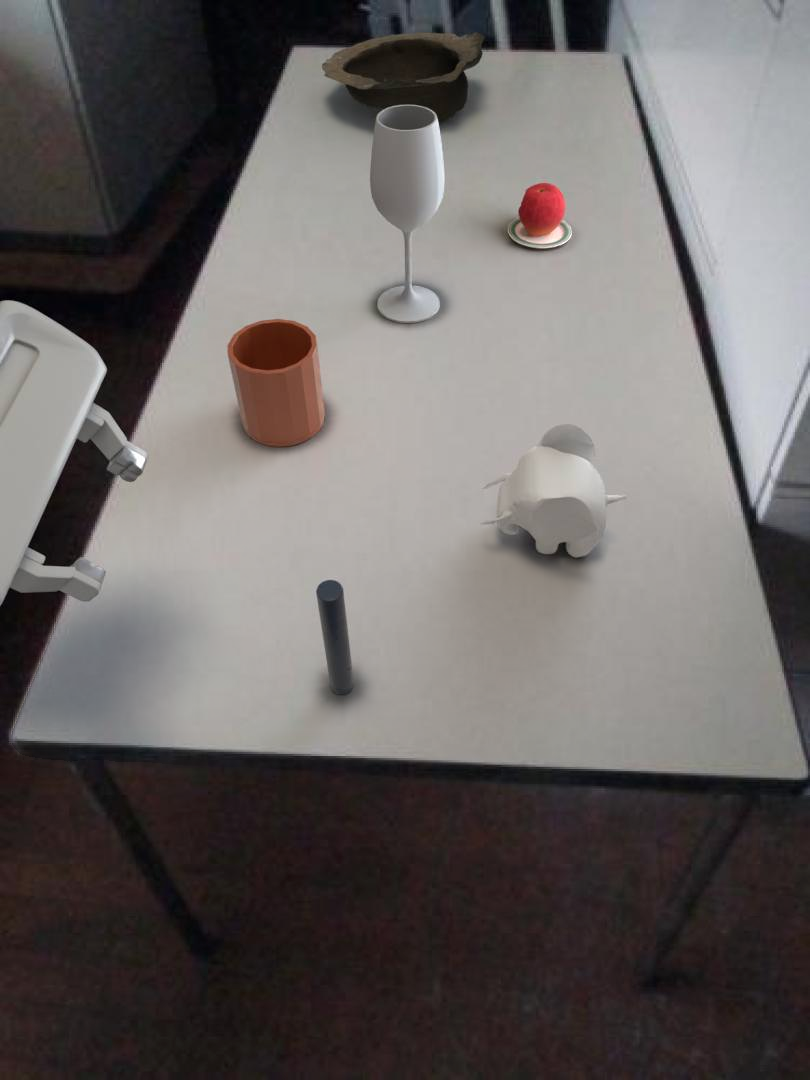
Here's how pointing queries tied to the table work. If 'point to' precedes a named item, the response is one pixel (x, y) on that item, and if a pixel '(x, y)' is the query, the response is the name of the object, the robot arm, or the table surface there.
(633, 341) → the table surface
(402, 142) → the wineglass
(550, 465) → the elephant figurine
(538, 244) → the apple
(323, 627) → the rod
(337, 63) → the stone bowl
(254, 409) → the cup
